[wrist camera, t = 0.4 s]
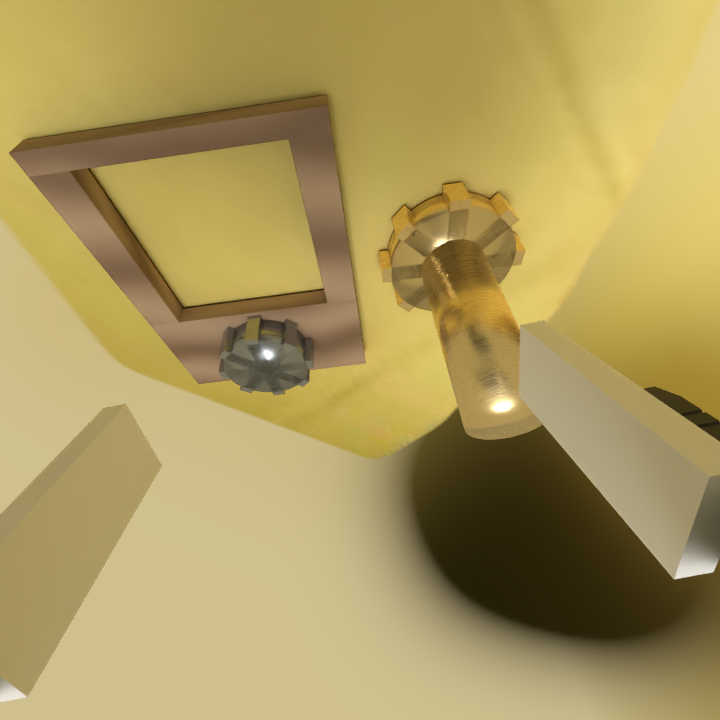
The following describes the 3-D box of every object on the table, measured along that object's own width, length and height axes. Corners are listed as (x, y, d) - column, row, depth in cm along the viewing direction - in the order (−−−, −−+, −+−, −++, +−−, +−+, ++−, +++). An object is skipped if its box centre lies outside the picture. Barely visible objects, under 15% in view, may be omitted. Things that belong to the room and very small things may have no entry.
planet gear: (374, 194, 23) (412, 376, 15) (531, 172, 23) (663, 345, 14) (382, 306, 31) (410, 467, 22) (499, 290, 30) (572, 448, 22)
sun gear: (206, 321, 28) (200, 346, 27) (302, 309, 28) (302, 333, 27) (241, 376, 35) (237, 399, 33) (320, 366, 34) (321, 389, 33)
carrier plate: (23, 140, 19) (9, 153, 18) (326, 94, 19) (327, 105, 18) (201, 371, 36) (198, 384, 35) (364, 350, 35) (365, 363, 34)
